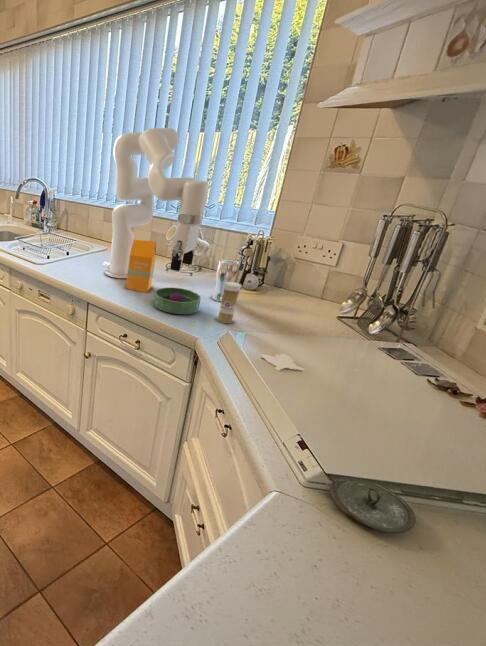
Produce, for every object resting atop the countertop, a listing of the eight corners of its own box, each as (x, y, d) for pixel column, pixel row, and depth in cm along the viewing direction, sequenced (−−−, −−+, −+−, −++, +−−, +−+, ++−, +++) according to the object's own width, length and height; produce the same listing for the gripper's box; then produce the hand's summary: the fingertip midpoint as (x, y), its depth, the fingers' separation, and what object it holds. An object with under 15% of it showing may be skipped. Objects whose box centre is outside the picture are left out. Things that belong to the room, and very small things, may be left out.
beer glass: (229, 303, 147) (238, 265, 141) (209, 299, 151) (217, 262, 145) (232, 298, 152) (241, 261, 146) (213, 294, 156) (220, 258, 150)
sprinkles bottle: (217, 322, 133) (225, 285, 127) (216, 317, 136) (224, 280, 131) (232, 324, 131) (241, 286, 126) (231, 319, 135) (240, 282, 129)
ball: (165, 305, 145) (167, 293, 143) (171, 302, 148) (173, 289, 146) (179, 309, 142) (181, 296, 140) (185, 305, 145) (187, 293, 143)
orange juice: (130, 283, 170) (135, 237, 162) (151, 286, 166) (158, 239, 158) (125, 288, 164) (131, 241, 156) (147, 292, 160) (154, 244, 152)
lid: (407, 517, 66) (416, 490, 65) (416, 548, 58) (427, 518, 57) (326, 486, 72) (334, 461, 71) (325, 510, 65) (334, 483, 64)
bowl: (145, 307, 145) (147, 294, 143) (164, 296, 155) (166, 284, 153) (187, 319, 135) (189, 306, 133) (204, 307, 145) (207, 294, 143)
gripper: (189, 213, 141) (181, 259, 148) (167, 221, 130) (159, 270, 137) (211, 216, 136) (201, 263, 143) (190, 224, 125) (180, 275, 132)
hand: (180, 266), depth 140 cm, fingers open, 9 cm apart
